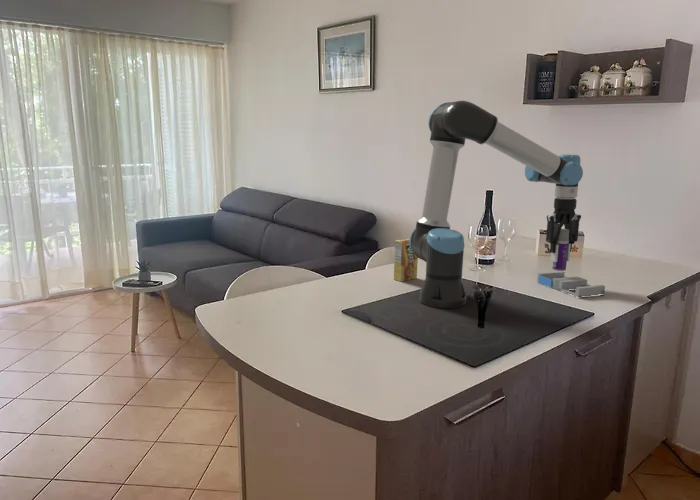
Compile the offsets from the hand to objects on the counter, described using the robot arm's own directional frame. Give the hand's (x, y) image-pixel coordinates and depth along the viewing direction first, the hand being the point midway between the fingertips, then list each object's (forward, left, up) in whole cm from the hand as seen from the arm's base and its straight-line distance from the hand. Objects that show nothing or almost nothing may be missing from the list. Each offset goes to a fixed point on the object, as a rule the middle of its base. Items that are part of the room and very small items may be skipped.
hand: (559, 260), depth 197 cm
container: (0, 0, -4) cm, 4 cm away
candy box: (-52, +22, -9) cm, 57 cm away
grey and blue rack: (0, -6, -9) cm, 11 cm away
